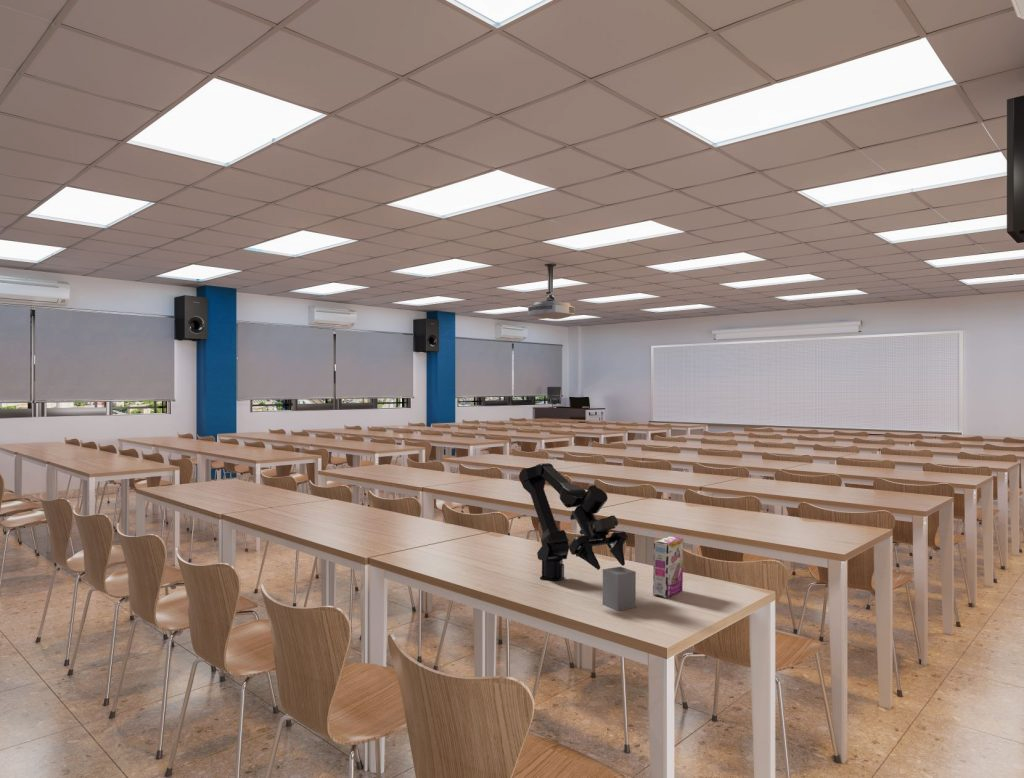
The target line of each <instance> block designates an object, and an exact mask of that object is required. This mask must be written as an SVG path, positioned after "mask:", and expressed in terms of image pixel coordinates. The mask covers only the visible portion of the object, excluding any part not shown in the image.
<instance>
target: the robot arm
mask: <svg viewBox="0 0 1024 778" xmlns="http://www.w3.org/2000/svg"><path fill="white" fill-rule="evenodd" d="M518 478H519V481H520V483H521V485H522V488H523V489H524V490H525V491H526V492H528V494H529V495H530V497H531V500H532V504H533V506H534V509H535V512H536V515H537V518H538V521H539V525H540V527H541V531H542V537H541V541H540V542H541V547H540V548H539V549H538V551H537V552H536V555H537V560H540V561H541V576H539V579H540V580H546V581H547V580H548V581H555V582H560V581H561V580H562V579H563V578H564V577H565V563H564V561H563V560H567V559H568V555H569V551H570V554H571V555H572V556H576V557H577V558H578V557H579V558H580V559H582V560H584V561H585V562H587V563H588V564H589V565H590V566H592V567H594V569H596V570H597V571H599V570H600V569H601V566H600V563H599V560H598V559H597V556H596V554H595V552H594V550H593V547H599V546H604V545H606V546H607V547H608V548H609V549H610V550H609V551H610V553H611V554H612V555H613V557H614V558H615V560H616V561H618V563H619V564H620V565H621V567H624V566H625V564H626V563H625V561H626V560H625V556H624V544H625V543H626V541H627V540H628V539H629V537H628V536H629V535H628V534H627V533H626V531H624V530H623V531H622V530H620V531H613V532H612V533H611V535H610V536H609V537H608V535H609V534H610V531H611V530H613V529H616V527H617V526H618V525H619V522H618V521H619V520H618V519H617V517H616V516H615V515H614V514H613V515H609V516H607V517H603V518H599V519H597V517H596V514H598V513H599V512H600V510H601V509H602V508H603V507H604V505H605V504H606V502H607V501H608V494H607V492H605V491H604V490H603V489H601V488H598V486H597V485H596V484H593V485H590V486H589V487H588V489H587V491H586V489H584V488H583V487H581V486H579V485H578V484H574V483H571V482H570V481H568V479H566V478H565V477H564V475H562V474H561V473H560V472H559V471H558V470H557V469H556V468H554V466H553V464H552V463H550V462H549V463H545V462H544V463H539V464H536V465H534V466H531V467H523V468H522V469H521V471H520V472H519V475H518ZM546 482H547V483H548V484H549V485H550V486H551V488H552V489H554V490H555V491H556V492H557V493H558V494H559V500H560V501H561V503H562V505H564V507H565V508H569V509H570V508H575V509H574V510H571V514H570V518H569V519H570V520H572V521H574V520H575V521H576V523H577V524H578V526H579V527H580V531H579V534H580V536H575V537H574V538H573V540H572V542H571V543H570V544H569V541H570V540H569V538H568V537H567V533H566V531H565V529H559V528H558V527H557V524H556V520H555V518H554V515H553V512H552V511H553V510H552V509H551V506H550V504H549V500H548V497H547V494H546V491H545V485H546Z"/></svg>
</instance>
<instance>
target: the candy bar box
mask: <svg viewBox="0 0 1024 778" xmlns="http://www.w3.org/2000/svg"><path fill="white" fill-rule="evenodd" d="M683 566H684V538H682V537H676V536H667V537H665V538H661V539H658V540H654V541H653V573H652V574H653V577H652V578H653V583H652V596H655V597H660V598H664V599H667V598H670V597H671V596H674V595H676V594H678V593H680V592H682V591H683V585H684V584H683V581H684V580H683V577H684V576H683V571H684V567H683Z"/></svg>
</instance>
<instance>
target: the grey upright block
mask: <svg viewBox="0 0 1024 778" xmlns="http://www.w3.org/2000/svg"><path fill="white" fill-rule="evenodd" d="M636 572H637V571H635V570H632V569H628V568H626V567H624V566H616V567H615V566H614V567H611V568H610V567H609V568H604V569H602V605H604V606H606V607H607V608H610V609H613V610H615V611H619V612H620V611H623V610H628V609H633V608H636V593H637V592H636V583H637V581H636V579H637V576H636V574H637V573H636Z"/></svg>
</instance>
